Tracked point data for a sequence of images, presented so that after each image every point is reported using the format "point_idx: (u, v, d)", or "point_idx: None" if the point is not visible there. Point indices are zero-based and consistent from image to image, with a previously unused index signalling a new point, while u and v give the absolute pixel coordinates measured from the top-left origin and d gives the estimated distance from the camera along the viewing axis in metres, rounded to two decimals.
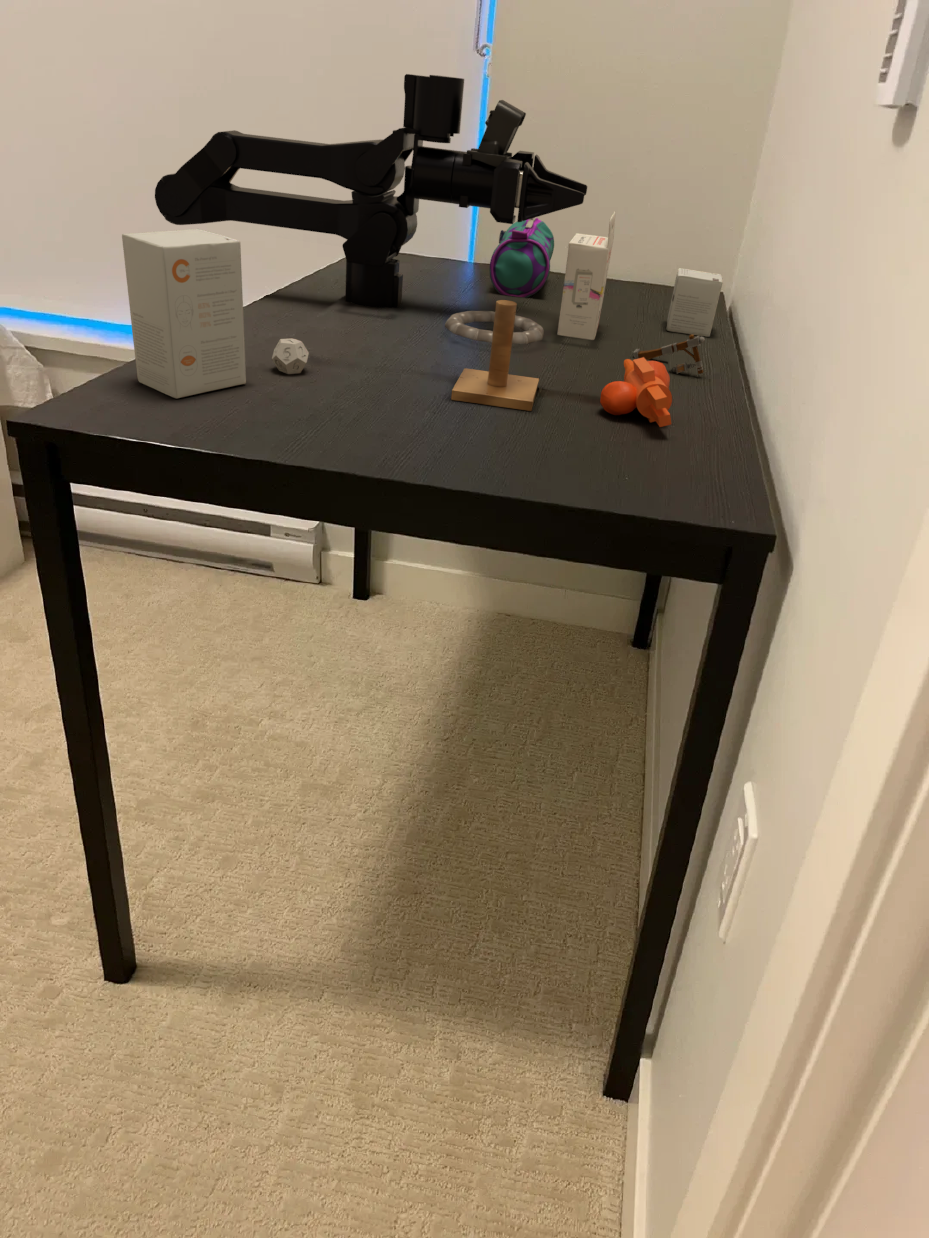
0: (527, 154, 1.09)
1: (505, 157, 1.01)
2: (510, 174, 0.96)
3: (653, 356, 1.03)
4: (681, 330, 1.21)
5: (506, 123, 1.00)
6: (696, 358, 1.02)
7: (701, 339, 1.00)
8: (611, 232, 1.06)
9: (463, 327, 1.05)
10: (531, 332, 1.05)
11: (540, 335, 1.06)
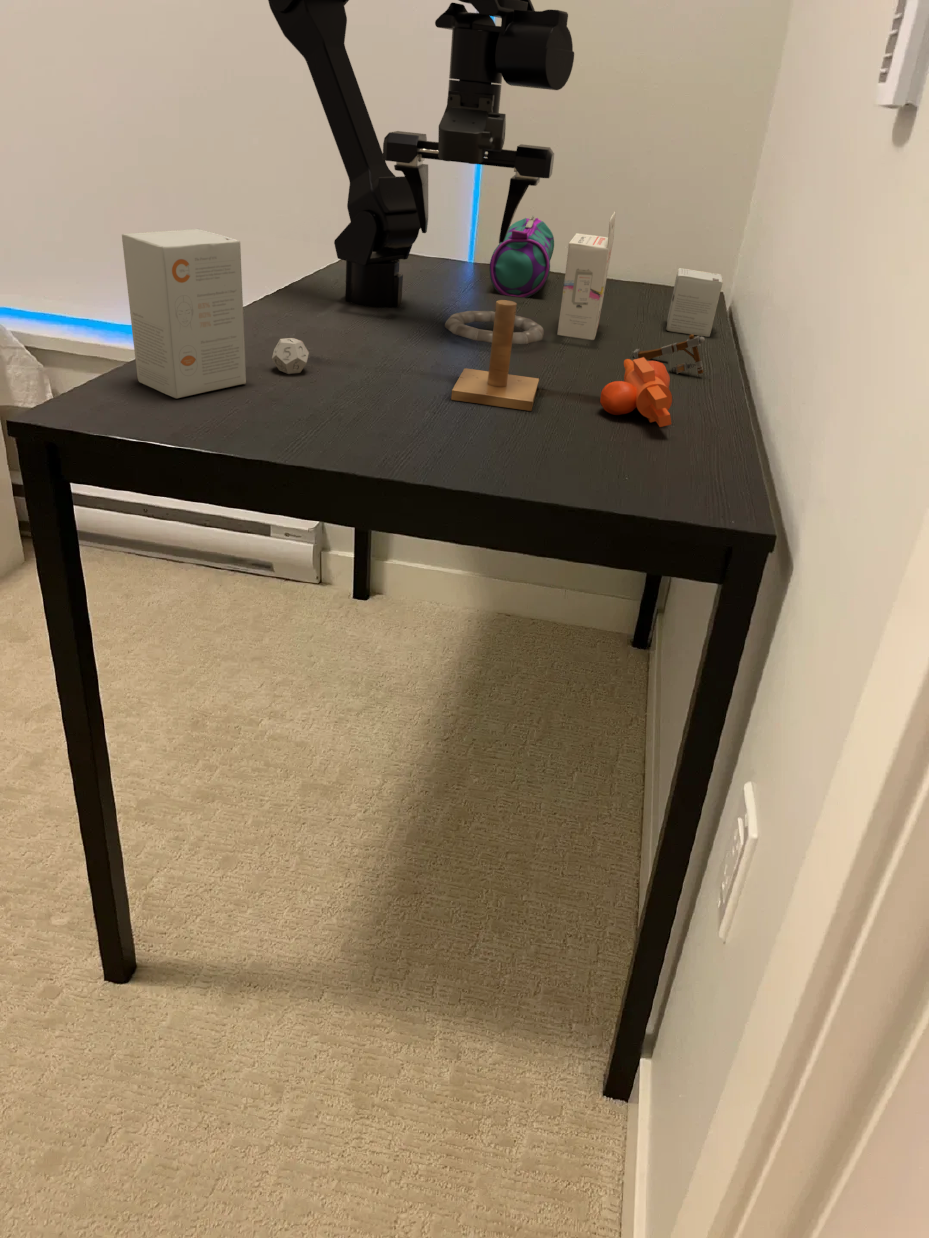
0: (516, 169, 0.97)
1: None
2: None
3: (653, 356, 1.03)
4: (681, 330, 1.21)
5: None
6: (696, 358, 1.02)
7: (701, 339, 1.00)
8: (611, 232, 1.06)
9: (463, 327, 1.05)
10: (531, 332, 1.05)
11: (540, 335, 1.06)
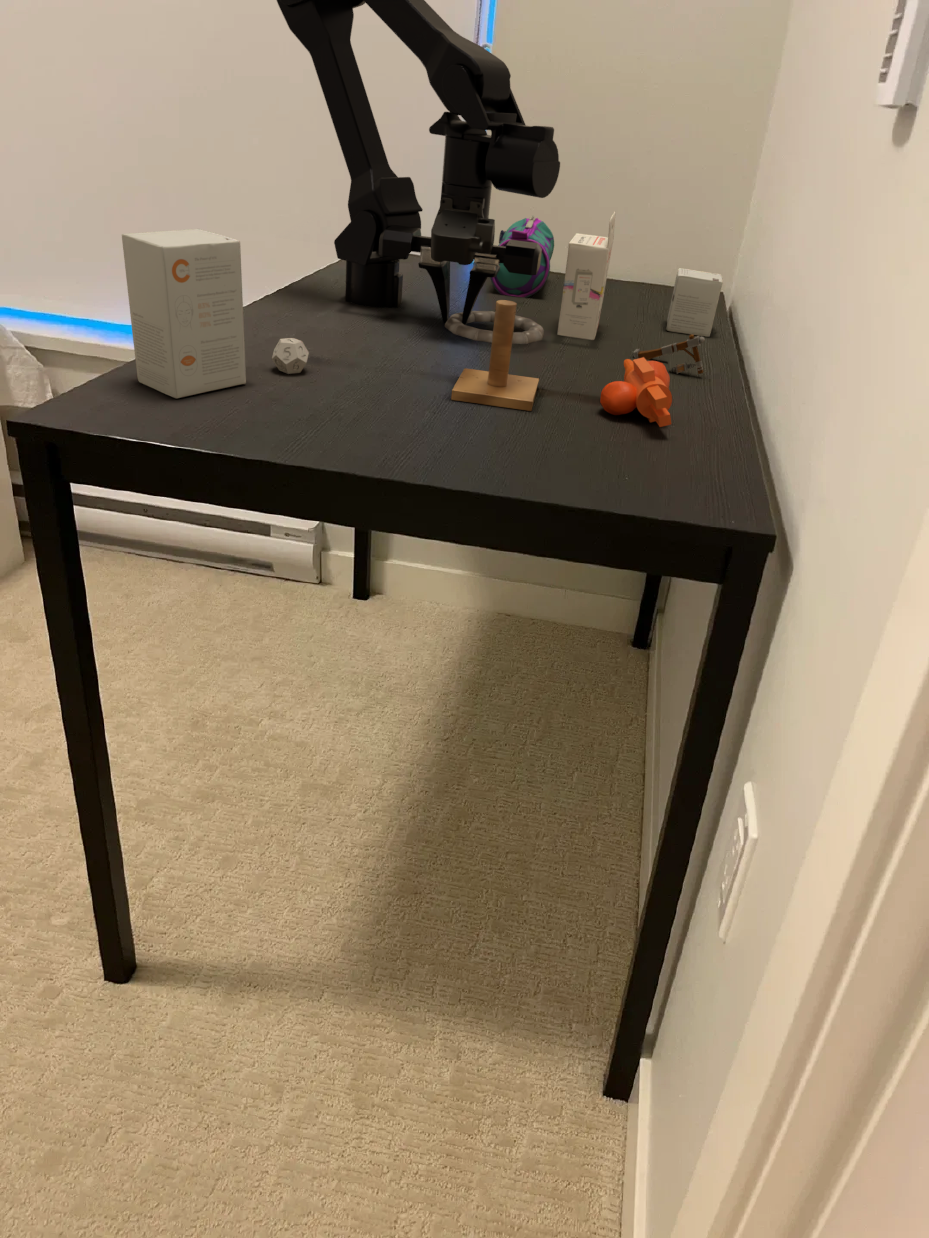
0: (505, 266, 1.02)
1: None
2: None
3: (653, 356, 1.03)
4: (681, 330, 1.21)
5: None
6: (696, 358, 1.02)
7: (701, 339, 1.00)
8: (611, 232, 1.06)
9: (463, 327, 1.05)
10: (531, 332, 1.05)
11: (540, 335, 1.06)
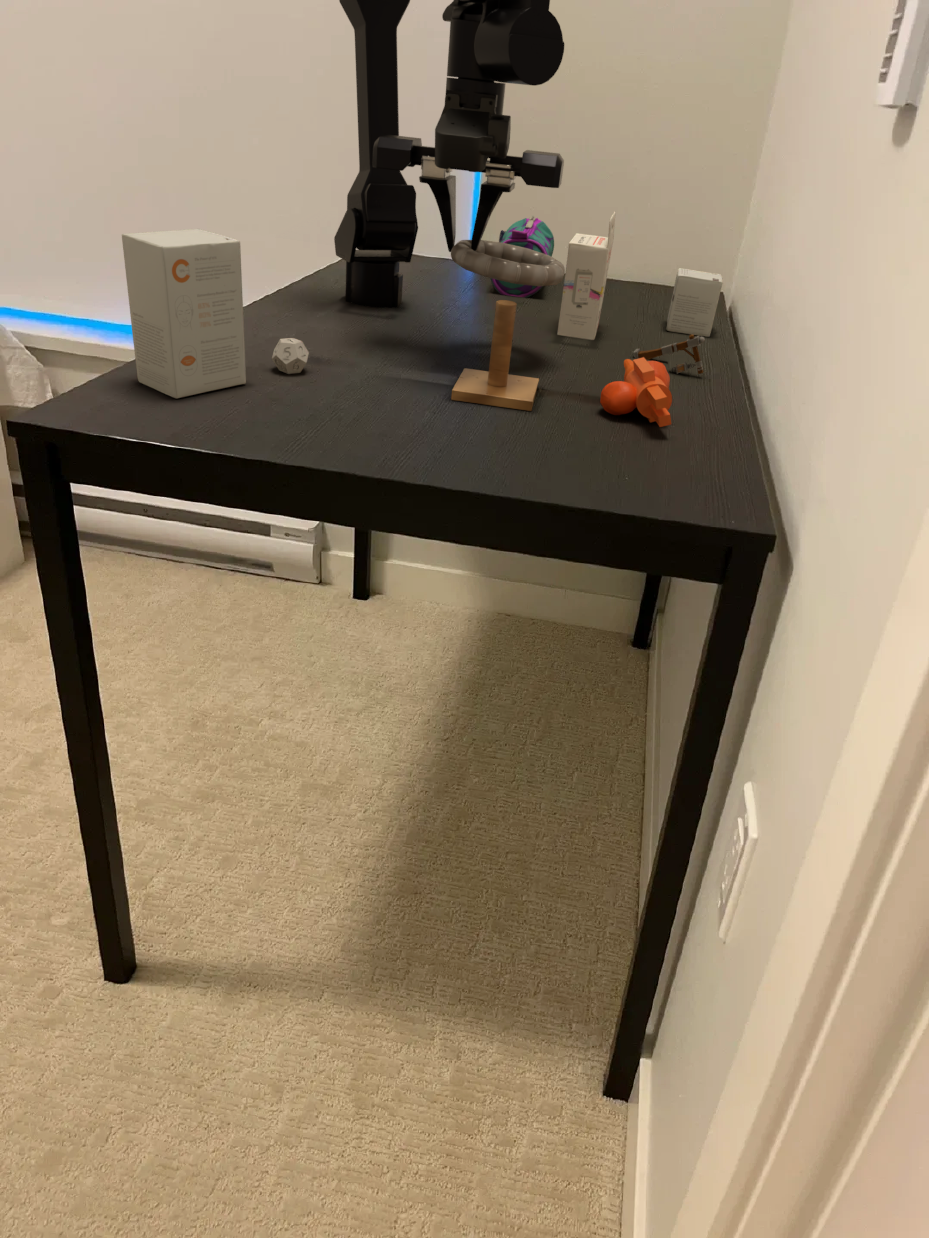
0: (522, 178, 0.86)
1: None
2: None
3: (653, 356, 1.03)
4: (681, 330, 1.21)
5: None
6: (696, 358, 1.02)
7: (701, 339, 1.00)
8: (611, 232, 1.06)
9: (473, 253, 0.89)
10: (552, 267, 0.90)
11: (561, 272, 0.91)
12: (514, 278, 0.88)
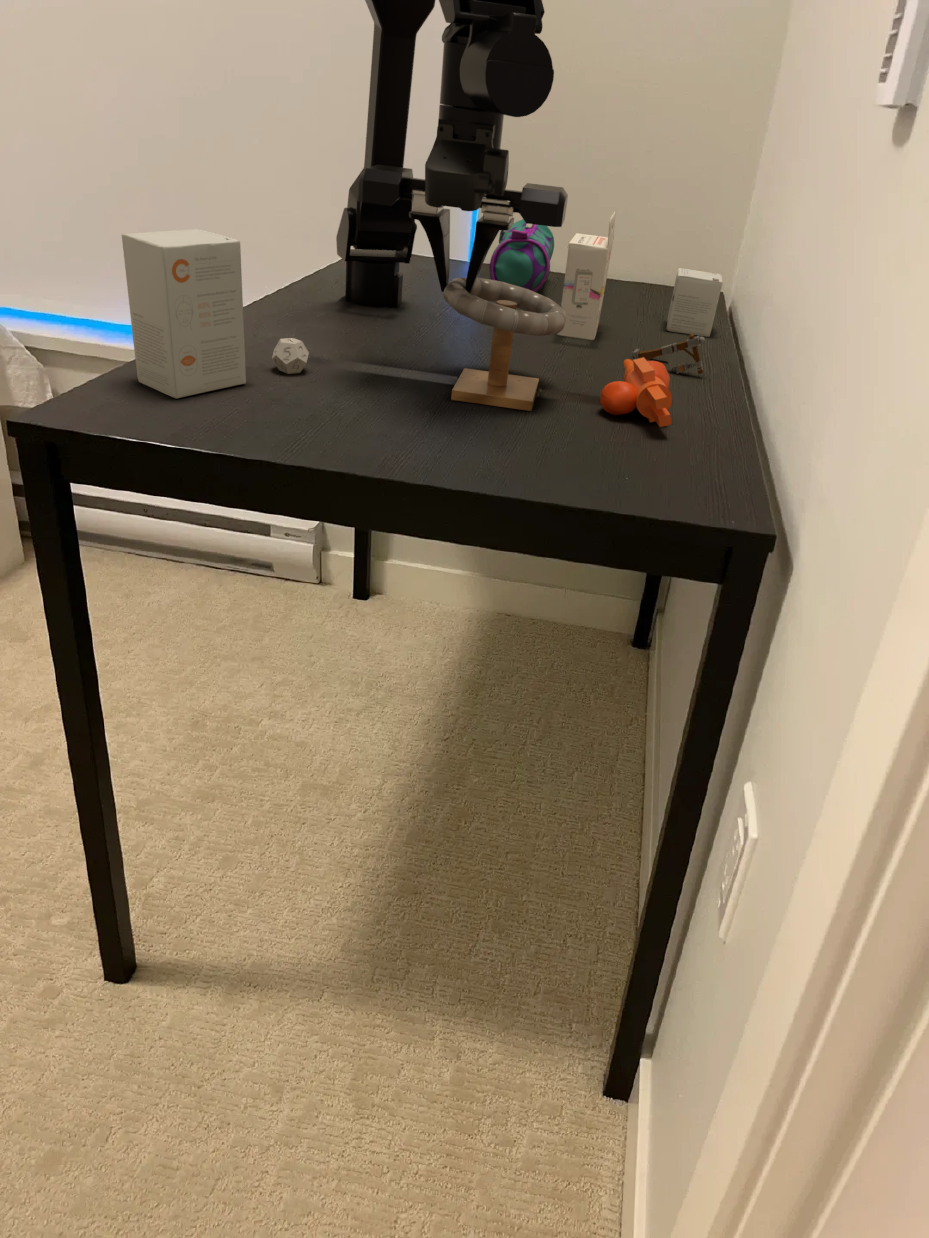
0: None
1: None
2: None
3: (653, 356, 1.03)
4: (681, 330, 1.21)
5: None
6: (696, 358, 1.02)
7: (701, 339, 1.00)
8: (611, 232, 1.06)
9: (468, 296, 0.81)
10: (552, 315, 0.83)
11: (562, 321, 0.84)
12: (511, 327, 0.81)
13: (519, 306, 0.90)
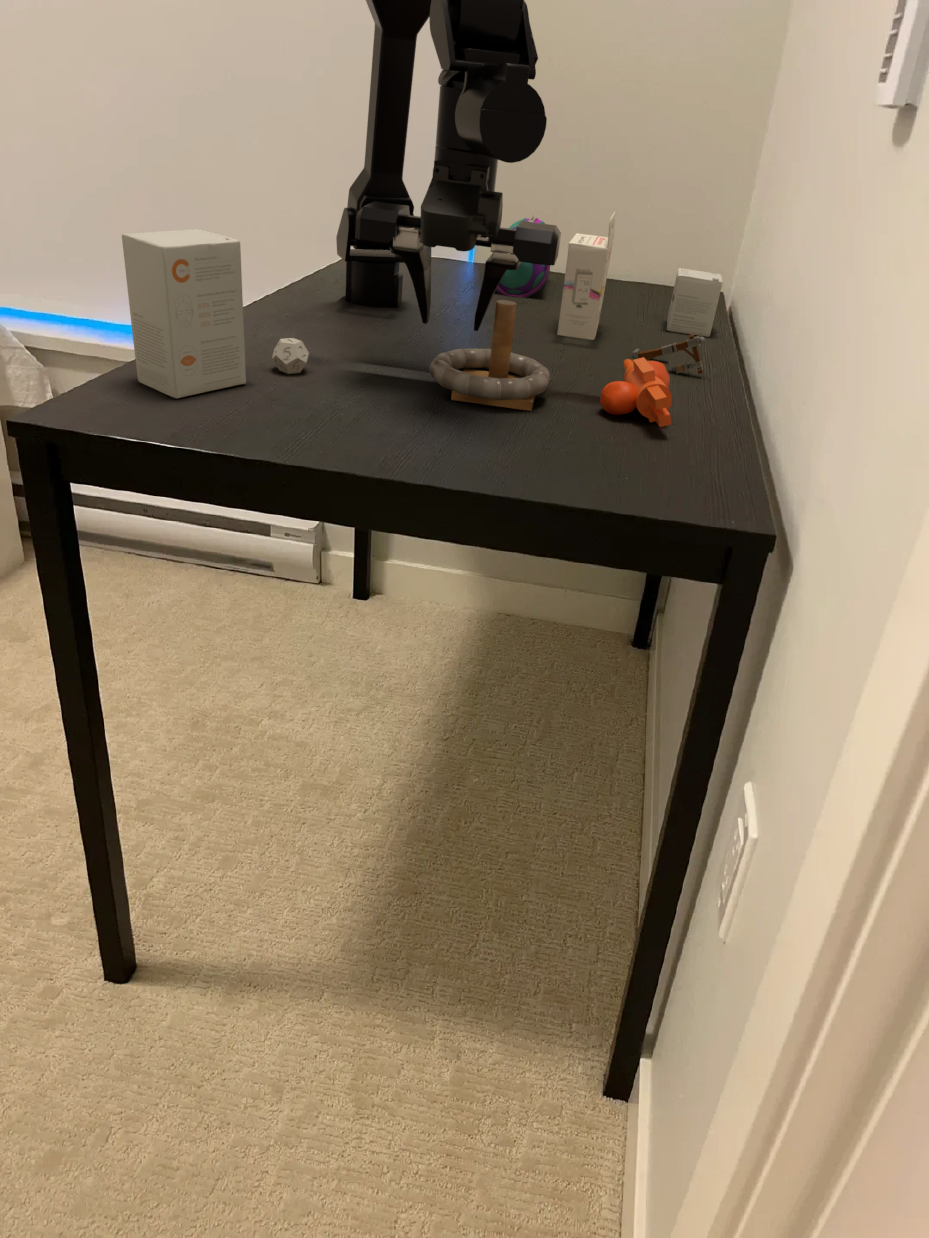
0: (515, 254, 0.80)
1: None
2: None
3: (653, 356, 1.03)
4: (681, 330, 1.21)
5: None
6: (696, 358, 1.02)
7: (701, 339, 1.00)
8: (611, 232, 1.06)
9: (451, 371, 0.85)
10: (535, 377, 0.86)
11: (545, 381, 0.87)
12: (495, 395, 0.84)
13: None
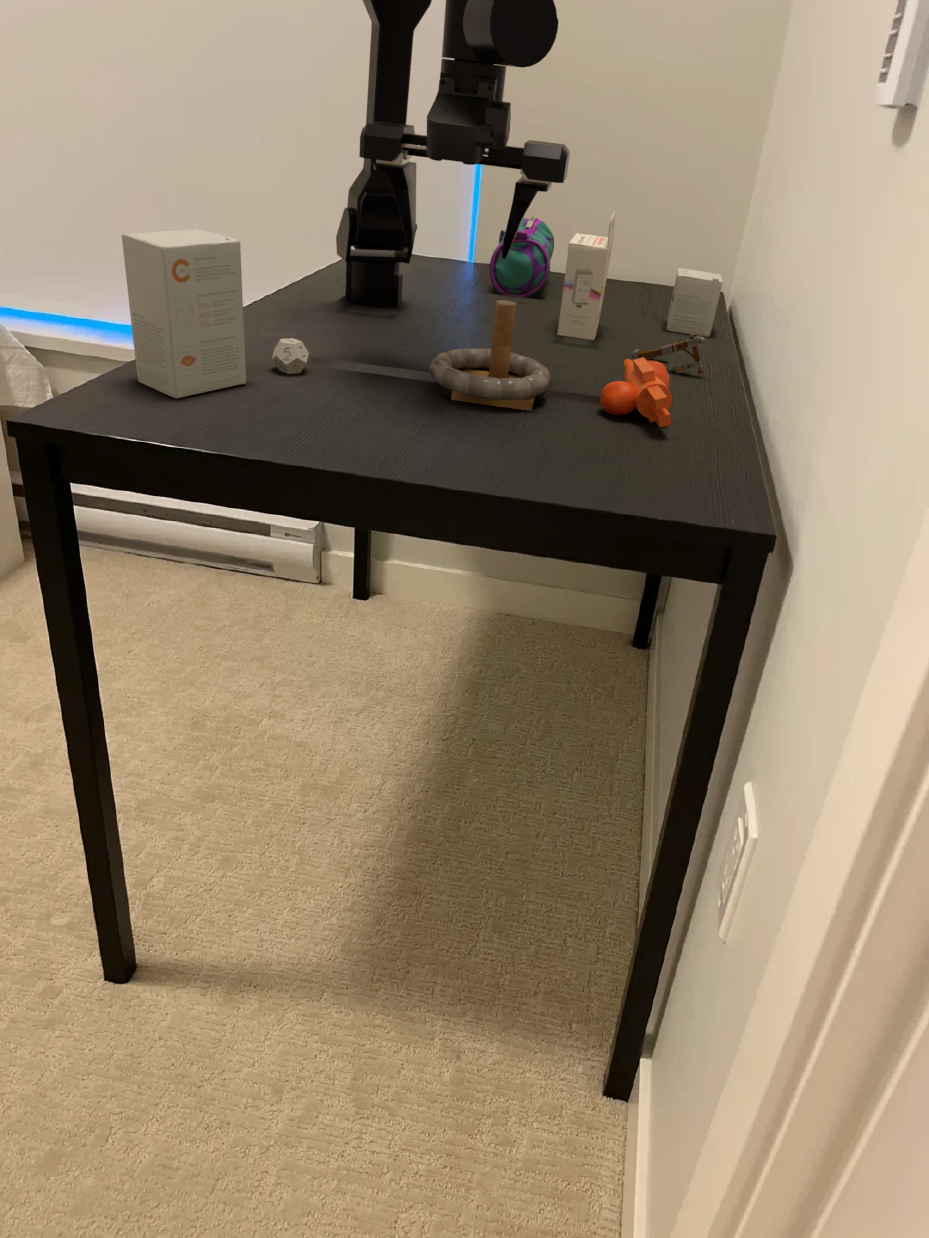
0: (523, 171, 0.78)
1: None
2: None
3: (653, 356, 1.03)
4: (681, 330, 1.21)
5: None
6: (696, 358, 1.02)
7: (701, 339, 1.00)
8: (611, 232, 1.06)
9: (451, 371, 0.85)
10: (535, 377, 0.86)
11: (545, 381, 0.87)
12: (495, 395, 0.84)
13: None
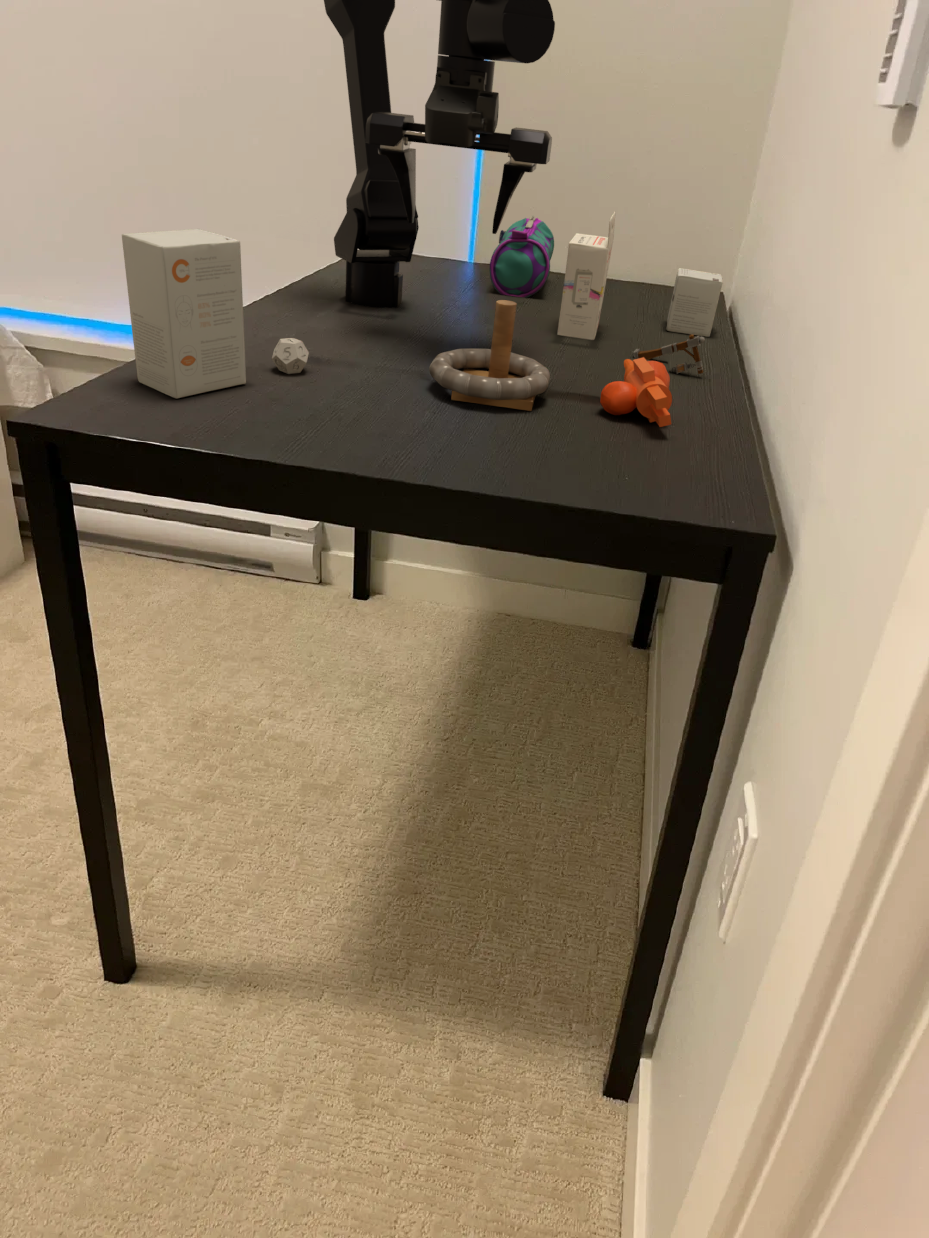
0: (510, 154, 0.89)
1: None
2: None
3: (653, 356, 1.03)
4: (681, 330, 1.21)
5: None
6: (696, 358, 1.02)
7: (701, 339, 1.00)
8: (611, 232, 1.06)
9: (451, 371, 0.85)
10: (535, 377, 0.86)
11: (545, 381, 0.87)
12: (495, 395, 0.84)
13: None
